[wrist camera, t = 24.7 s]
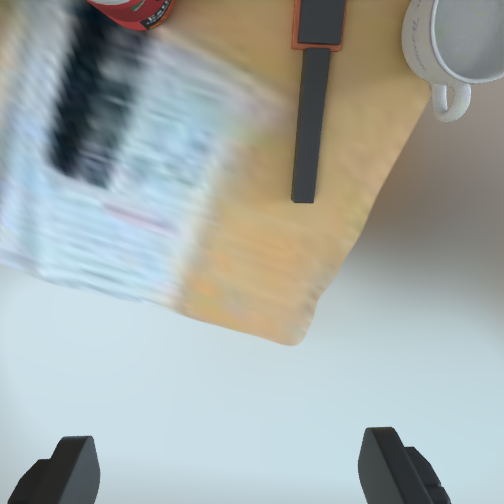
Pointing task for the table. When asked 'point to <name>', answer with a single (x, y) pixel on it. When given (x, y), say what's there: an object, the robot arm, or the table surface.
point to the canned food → (135, 12)
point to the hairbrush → (313, 84)
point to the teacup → (454, 48)
